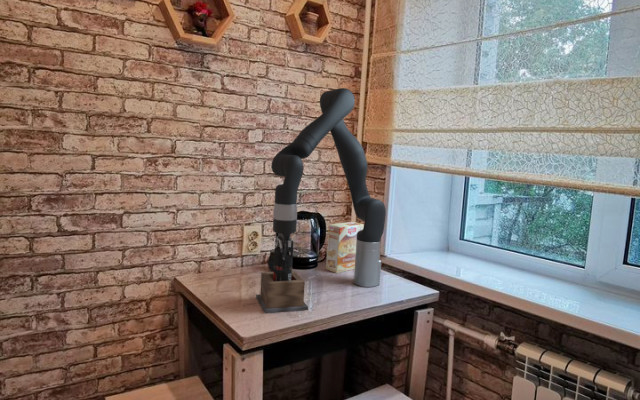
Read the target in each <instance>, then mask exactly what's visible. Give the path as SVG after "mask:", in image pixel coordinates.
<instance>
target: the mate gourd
mask: <svg viewBox="0 0 640 400" xmlns="http://www.w3.org/2000/svg"><path fill="white" fill-rule="evenodd" d="M274 250H275V249H272V250H270V251H269V257H268V259H267V266H268V269H269V271H271V272H274Z"/></svg>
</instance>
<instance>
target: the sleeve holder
mask: <svg viewBox="0 0 640 400" xmlns="http://www.w3.org/2000/svg"><path fill="white" fill-rule="evenodd" d="M273 273H274V271H268V272H265V271H264V272H260V294H256V295H255V298H256V300H257V302H258V304H259V306H260V308H261V309H262V311H263V313H264V314H276V313H288V312H301V311H308V310H309V307H308V305H307V304H306V302H305V301H304V300H305V280H304V279H303V278H302V277H301V276H300V274H298V273H297V272H296V271H295V270H292V280H291V281H273Z"/></svg>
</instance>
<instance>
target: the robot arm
mask: <svg viewBox="0 0 640 400" xmlns="http://www.w3.org/2000/svg"><path fill="white" fill-rule="evenodd" d="M319 107H320V110H321V113H322V114H320V116H318V117H317V118H315V119H314V120H313V121H311V122H310V123H309V124H307V125H306V126H304V128H302V130H301V131H300V132H299V133H298V134H297V136H296V137H295V138H294V140H293V141H292V142H291V143H289V144H288V145H286V146H284V147H283V148H282V149H281V150H280V151H279V152H277V153H276V154H275V156H274V157H273V159H272V161H271V171H272V172H273V174H274V175H276V176H278V177H284V181H283V183H282V184H278V185H276V187H275V190H274V191H275V192H274V206H273V215H272V217H273V218H272V231H273V232H274V233H275V240H274V241H275V242H274V243H275V244H274V249H275V248H279V247H280V252H281V253H282V258H283V264H282V270H283V271H289V270H290V260H291V259H292V260H293V258H294V243H295V241H294V240H292V238H291V235H292V234H295V233H296V232H297V224H298V223H297V222H298V220H297V219H298V206H297V203H298V202H297V201H298V191H299V187H300V184H301V181H302V178H303V173H304V169H305V167H304V163H303V160H304V159H306V158H309V156H310V155H312V153H313V152H314V150H316V148H317V146H318V145H319V144H320V143H321V142H322V140H323V139H324V138H325V137H326V136H327V135H328V134H329V133H330V134H331V137H332V140H333V142H334V145H335V149H336V151H337V154H338V157H339V161H340V164H341V167H342V169H343V173H344V177H345V179H346V182H347V186H348V189H349V192H350V196H351V202H352V207H353V211H354V213H355V216H356V217H357V218H358V219H359V220H360V221H363V222H364V223H363V224H364V228H363V230H360V231H358V232H357V240H356V255H355V269H353V270H354V271H353V272H354V273H353V284H354V285H356V286H359V287H364V288H372V287H373V288H374V287H377V286H379V285H380V284H381V272H382V271H381V268H382V261H381V259H380V257H381V256H380V255H381V240H382V236H383V234H384V231H385V223H386V215H387V211H386V206H385V203H384V202H383V201H382V200H380V199H376V198H373V197H371V195H370V193H369V192H370V191H369V190H368V187H367V175H368V161H367V157H366V153H365V150H364V147H363V146H362V144H361V142H360V141H359V140H358V139H357V138H356V136H355V135H354V134H352V132H351V131H350V130H349V129H348V127H347V125H346V123H345V120H344V119H345V118H346V117H347V116H348V115H349V114H350V113H351V112H352V111H353V109H354V107H355V96H354V93H353V92H352V91H351V90H350V89H348V88H343V87H342V88H336V89H335V88H334V89H331V90H326V91H324V92H323V93H322V94H321V95H320V97H319ZM284 249H285V250H284ZM287 253H288V255H287Z"/></svg>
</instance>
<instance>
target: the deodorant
mask: <svg viewBox="0 0 640 400" xmlns="http://www.w3.org/2000/svg"><path fill="white" fill-rule="evenodd" d="M273 250H274V271H273V272H274V273H273V281H291V280H292V271H293V259H291V260H290V270H289V271H283V270H282V264H283V258H282V253H281V252H280V247H279V248H275V247H274V249H273ZM284 250H285V249H284ZM287 255H288V253H287Z"/></svg>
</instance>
